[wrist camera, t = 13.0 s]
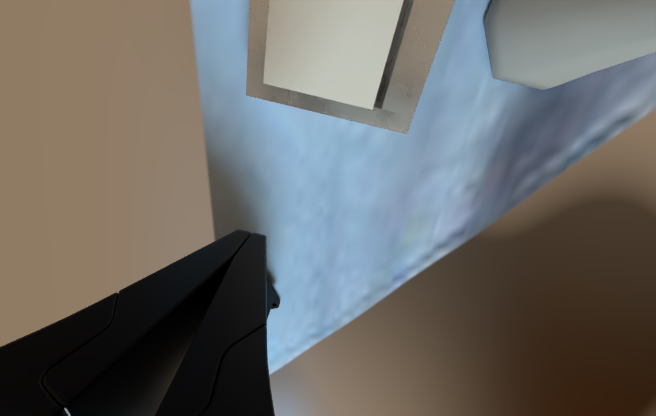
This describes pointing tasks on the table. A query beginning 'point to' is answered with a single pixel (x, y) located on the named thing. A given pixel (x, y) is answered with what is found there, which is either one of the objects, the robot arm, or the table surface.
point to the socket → (398, 76)
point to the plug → (330, 47)
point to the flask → (565, 38)
